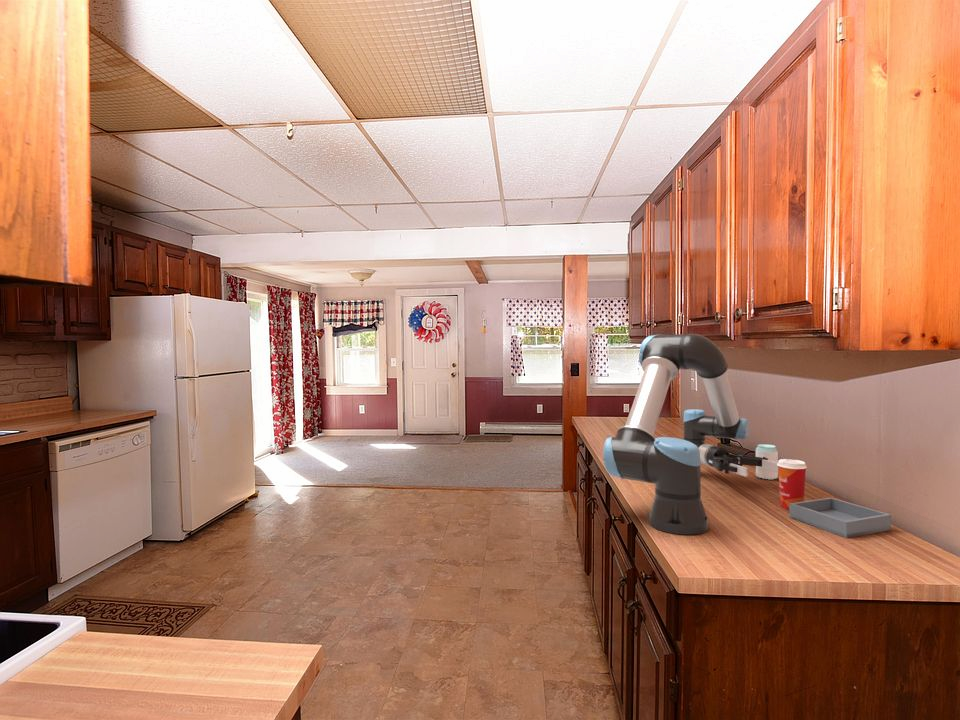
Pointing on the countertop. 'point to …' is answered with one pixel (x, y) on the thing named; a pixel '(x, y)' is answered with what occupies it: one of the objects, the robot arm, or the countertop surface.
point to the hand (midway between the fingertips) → (763, 470)
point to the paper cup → (791, 481)
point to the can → (772, 455)
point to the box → (840, 517)
